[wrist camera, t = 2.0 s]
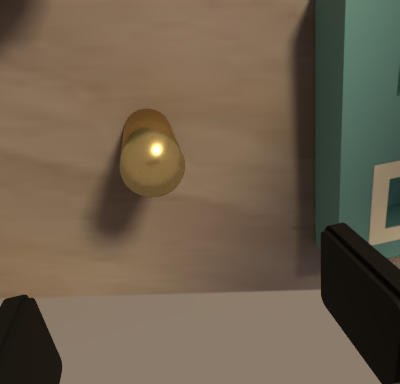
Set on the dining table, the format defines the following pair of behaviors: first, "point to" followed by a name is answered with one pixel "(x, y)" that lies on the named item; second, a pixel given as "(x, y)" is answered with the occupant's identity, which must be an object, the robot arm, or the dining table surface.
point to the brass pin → (150, 155)
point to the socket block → (358, 120)
